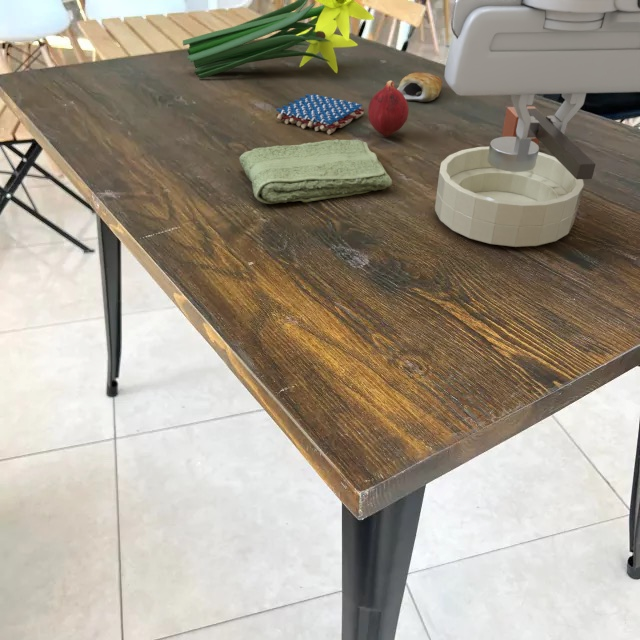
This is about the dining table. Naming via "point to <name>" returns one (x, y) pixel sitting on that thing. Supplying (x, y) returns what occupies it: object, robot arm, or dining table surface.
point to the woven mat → (320, 113)
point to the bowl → (506, 199)
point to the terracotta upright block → (513, 123)
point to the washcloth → (313, 171)
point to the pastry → (420, 87)
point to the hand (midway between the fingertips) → (539, 136)
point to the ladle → (524, 152)
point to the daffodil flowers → (278, 36)
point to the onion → (388, 110)
